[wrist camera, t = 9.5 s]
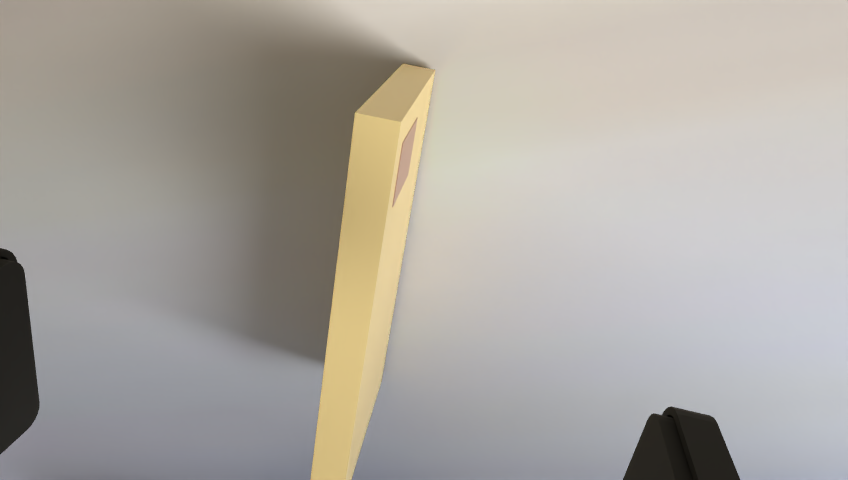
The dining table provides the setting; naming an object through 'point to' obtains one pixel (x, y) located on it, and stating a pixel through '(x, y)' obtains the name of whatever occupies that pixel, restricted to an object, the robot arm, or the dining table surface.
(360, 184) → the tall yellow upright plank
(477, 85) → the dining table surface
